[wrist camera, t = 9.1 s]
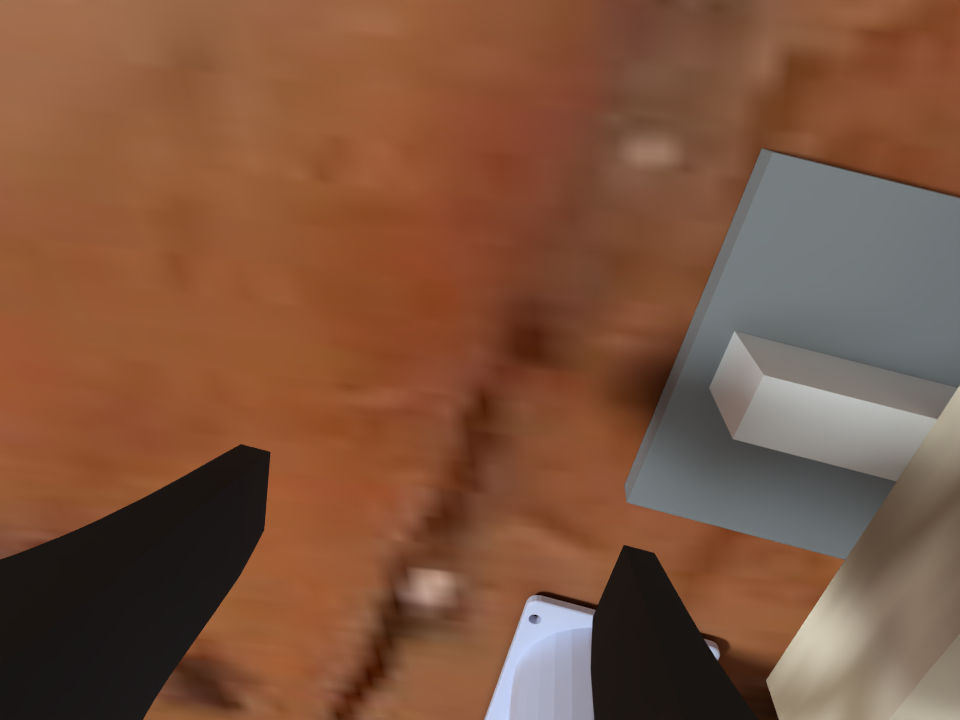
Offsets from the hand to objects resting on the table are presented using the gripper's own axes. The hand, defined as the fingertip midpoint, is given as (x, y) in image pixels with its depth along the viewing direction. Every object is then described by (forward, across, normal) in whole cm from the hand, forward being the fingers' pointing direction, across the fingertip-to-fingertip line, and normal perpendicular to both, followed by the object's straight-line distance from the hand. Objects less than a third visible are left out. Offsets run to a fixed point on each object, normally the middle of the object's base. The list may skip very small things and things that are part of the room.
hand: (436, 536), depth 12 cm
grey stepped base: (+9, -13, -2) cm, 16 cm away
